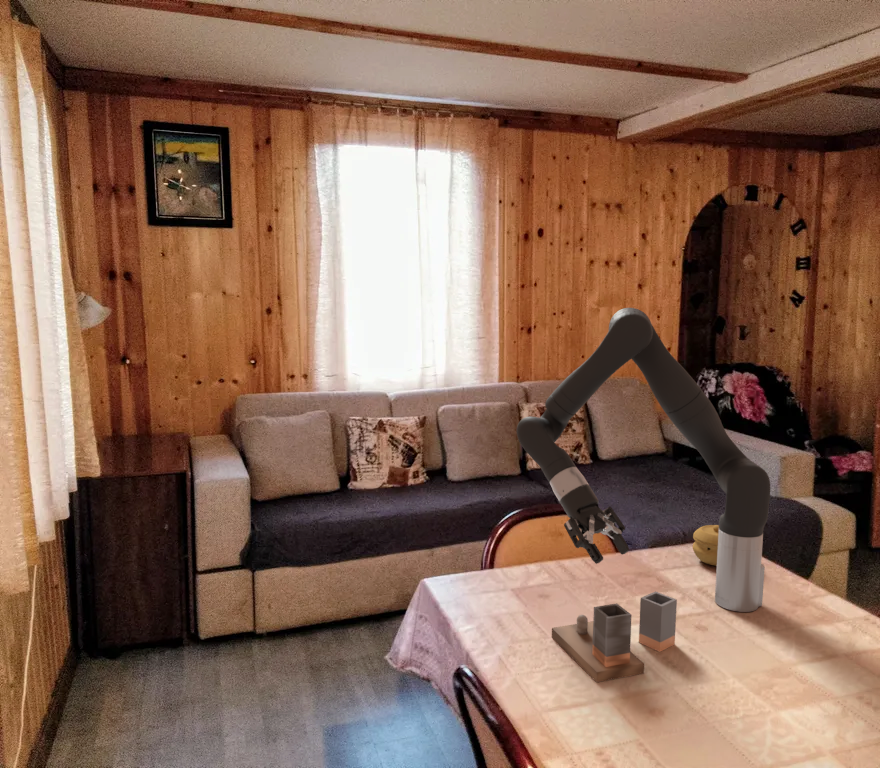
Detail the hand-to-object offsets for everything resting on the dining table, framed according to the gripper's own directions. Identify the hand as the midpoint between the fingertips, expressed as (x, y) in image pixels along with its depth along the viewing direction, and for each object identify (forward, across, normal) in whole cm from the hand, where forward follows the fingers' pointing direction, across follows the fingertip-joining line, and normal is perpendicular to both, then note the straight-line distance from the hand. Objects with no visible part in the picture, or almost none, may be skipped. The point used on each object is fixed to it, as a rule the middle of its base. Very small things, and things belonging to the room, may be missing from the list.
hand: (613, 557), depth 155 cm
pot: (+7, +48, +14) cm, 51 cm away
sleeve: (+18, 0, +2) cm, 19 cm away
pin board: (+15, -13, +6) cm, 21 cm away
